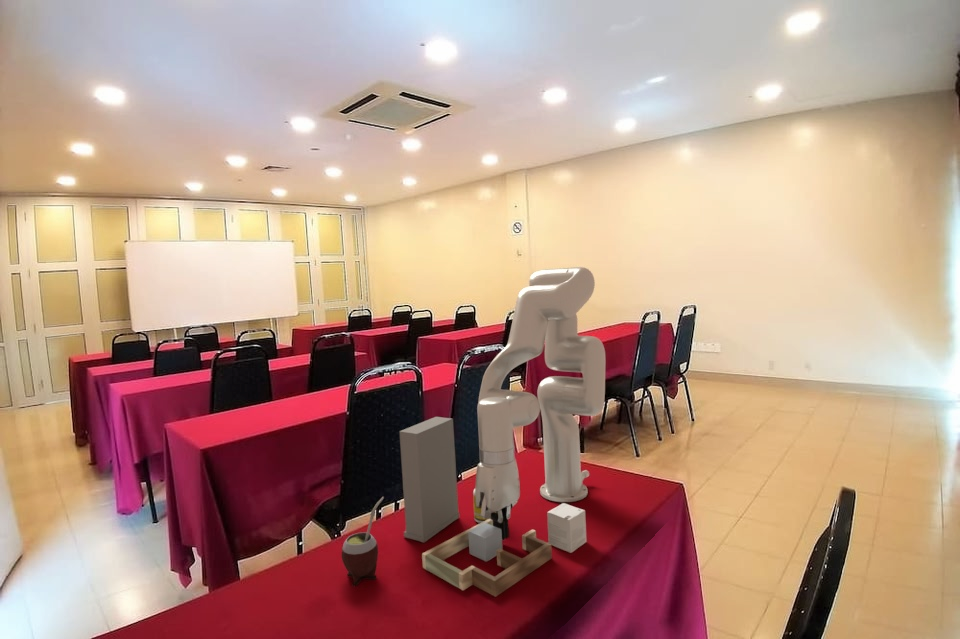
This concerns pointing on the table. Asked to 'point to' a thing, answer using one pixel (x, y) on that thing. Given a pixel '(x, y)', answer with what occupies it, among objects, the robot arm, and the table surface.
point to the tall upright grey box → (429, 477)
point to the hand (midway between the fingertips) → (501, 536)
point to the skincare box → (566, 527)
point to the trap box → (479, 578)
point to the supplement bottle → (477, 511)
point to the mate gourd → (361, 554)
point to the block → (485, 541)
